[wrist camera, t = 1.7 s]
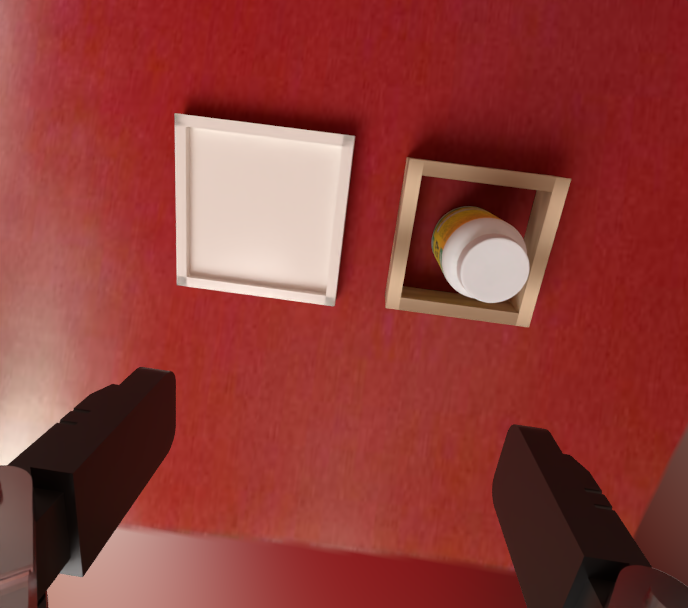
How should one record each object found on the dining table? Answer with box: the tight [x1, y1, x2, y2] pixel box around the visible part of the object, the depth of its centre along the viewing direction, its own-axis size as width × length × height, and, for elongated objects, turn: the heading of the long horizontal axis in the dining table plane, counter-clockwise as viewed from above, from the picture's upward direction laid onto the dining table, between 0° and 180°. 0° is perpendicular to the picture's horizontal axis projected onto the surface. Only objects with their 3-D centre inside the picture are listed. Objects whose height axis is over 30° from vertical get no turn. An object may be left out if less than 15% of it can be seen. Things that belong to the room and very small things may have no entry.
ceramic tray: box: [175, 113, 356, 306], centre depth 34 cm, size 13×13×2 cm
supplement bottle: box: [432, 206, 530, 303], centre depth 30 cm, size 5×5×10 cm
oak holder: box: [385, 157, 571, 327], centre depth 33 cm, size 11×11×3 cm
